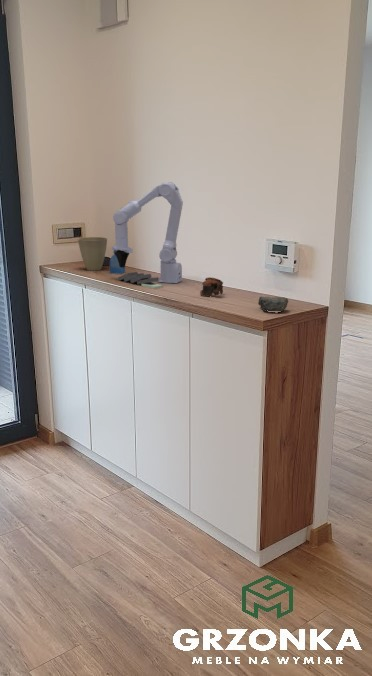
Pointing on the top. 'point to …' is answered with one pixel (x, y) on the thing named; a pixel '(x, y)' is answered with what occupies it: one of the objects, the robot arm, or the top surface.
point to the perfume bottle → (115, 265)
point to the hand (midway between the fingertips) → (122, 267)
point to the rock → (273, 303)
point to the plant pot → (93, 251)
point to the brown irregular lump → (211, 287)
